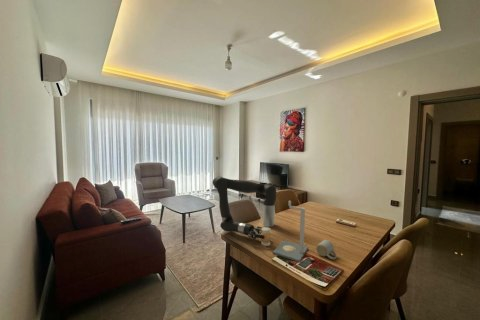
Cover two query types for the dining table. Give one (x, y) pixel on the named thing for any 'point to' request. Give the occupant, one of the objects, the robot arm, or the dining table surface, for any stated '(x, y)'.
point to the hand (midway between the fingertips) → (266, 234)
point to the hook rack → (293, 249)
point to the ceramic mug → (326, 249)
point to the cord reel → (266, 236)
